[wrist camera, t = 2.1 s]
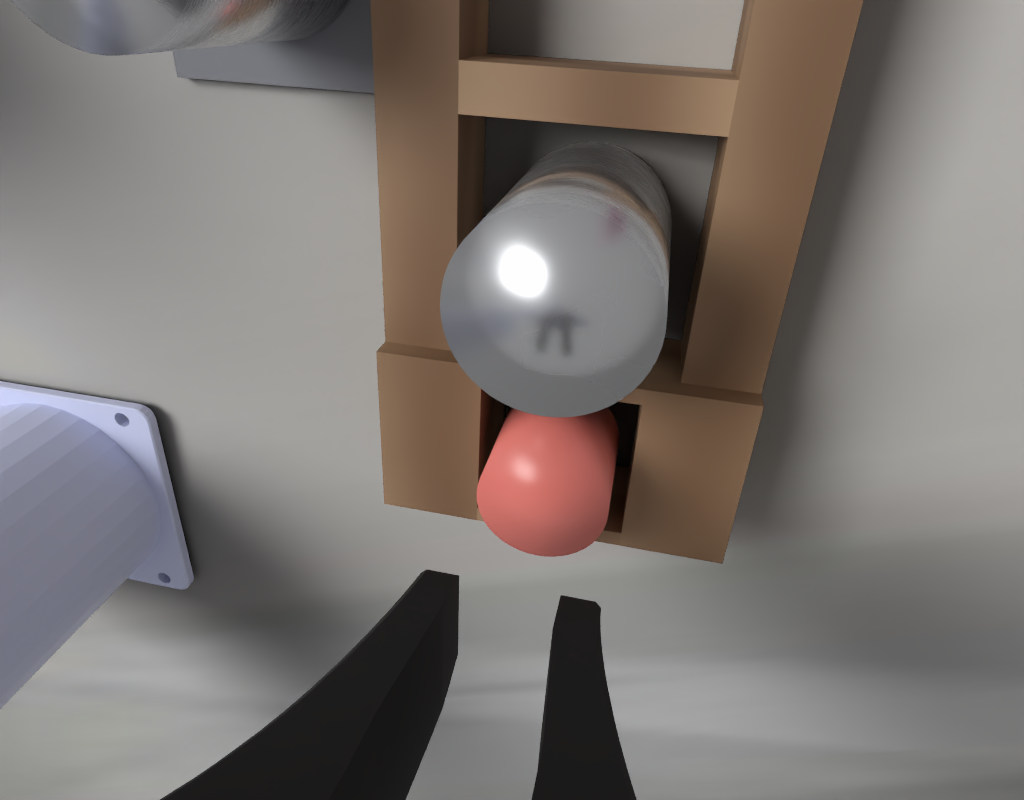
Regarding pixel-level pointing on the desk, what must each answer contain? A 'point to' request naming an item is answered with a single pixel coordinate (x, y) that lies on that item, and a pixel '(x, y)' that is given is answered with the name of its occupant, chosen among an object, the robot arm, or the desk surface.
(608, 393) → the billet seated
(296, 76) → the mat
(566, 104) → the wooden compartment tray
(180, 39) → the cylinder
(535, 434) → the button
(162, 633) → the desk surface
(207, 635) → the desk surface
